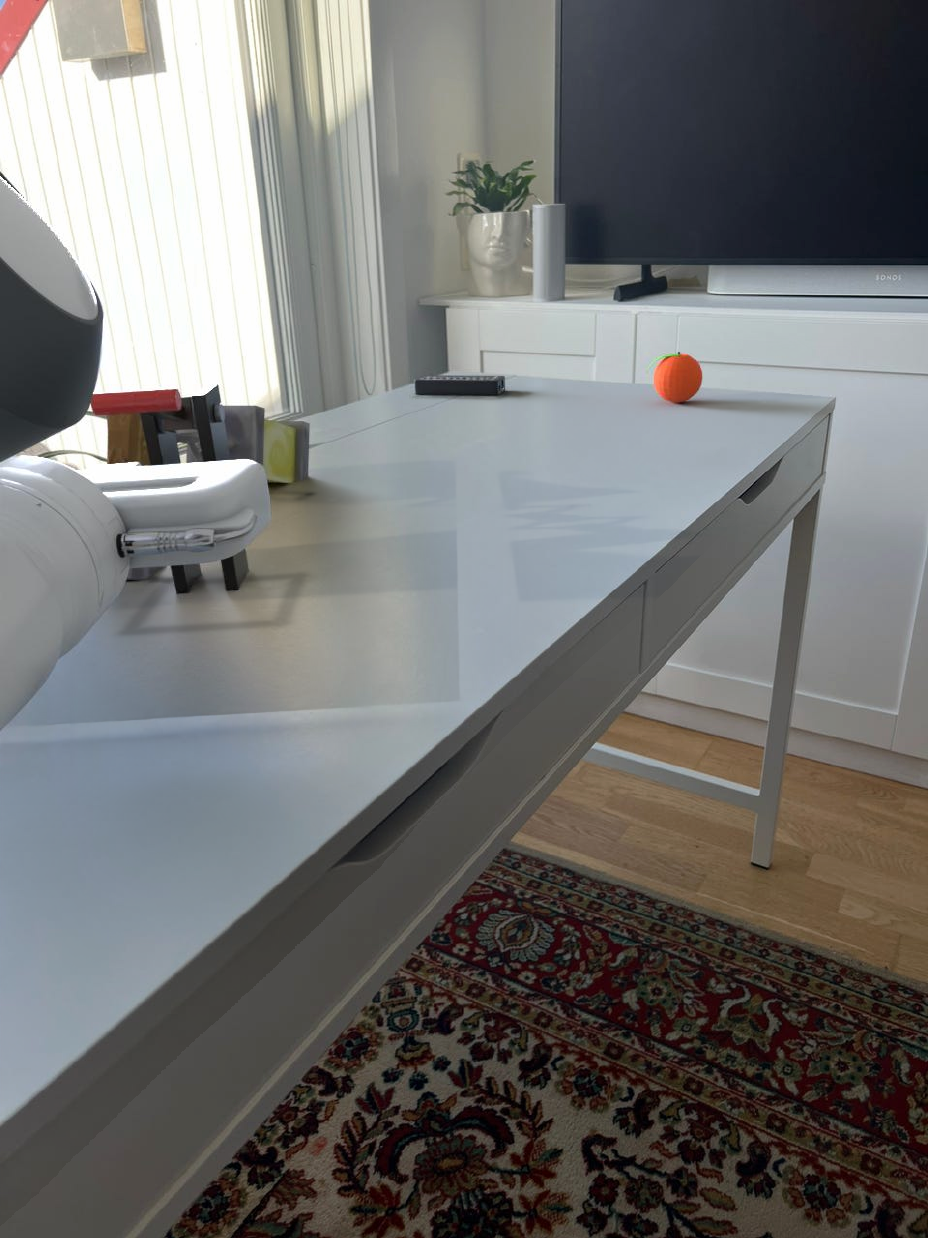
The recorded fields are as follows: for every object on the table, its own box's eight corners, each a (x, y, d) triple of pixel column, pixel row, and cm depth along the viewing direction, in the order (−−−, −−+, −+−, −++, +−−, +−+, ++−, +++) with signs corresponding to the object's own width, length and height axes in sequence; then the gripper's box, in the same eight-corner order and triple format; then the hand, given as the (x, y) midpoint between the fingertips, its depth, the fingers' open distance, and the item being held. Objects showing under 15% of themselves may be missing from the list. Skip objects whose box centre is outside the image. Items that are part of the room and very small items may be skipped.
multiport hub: (424, 388, 156) (423, 374, 155) (506, 389, 151) (505, 375, 150) (414, 394, 152) (413, 379, 151) (497, 395, 147) (496, 380, 146)
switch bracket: (278, 617, 72) (244, 399, 65) (124, 626, 72) (74, 409, 65) (297, 570, 81) (270, 374, 74) (161, 578, 81) (120, 384, 74)
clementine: (649, 408, 132) (650, 357, 129) (642, 399, 138) (643, 350, 135) (705, 405, 132) (708, 354, 129) (696, 396, 138) (698, 347, 135)
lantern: (244, 571, 107) (67, 575, 78) (248, 423, 106) (69, 371, 77) (305, 575, 105) (146, 580, 76) (309, 423, 104) (149, 370, 75)
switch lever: (176, 417, 60) (173, 378, 59) (92, 422, 60) (87, 384, 59) (225, 430, 72) (222, 398, 71) (154, 434, 72) (151, 403, 71)
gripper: (233, 475, 42) (283, 413, 55) (-210, 504, 43) (-59, 436, 55) (255, 602, 45) (297, 515, 57) (-163, 629, 45) (-29, 536, 58)
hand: (120, 476), depth 56 cm, fingers closed
